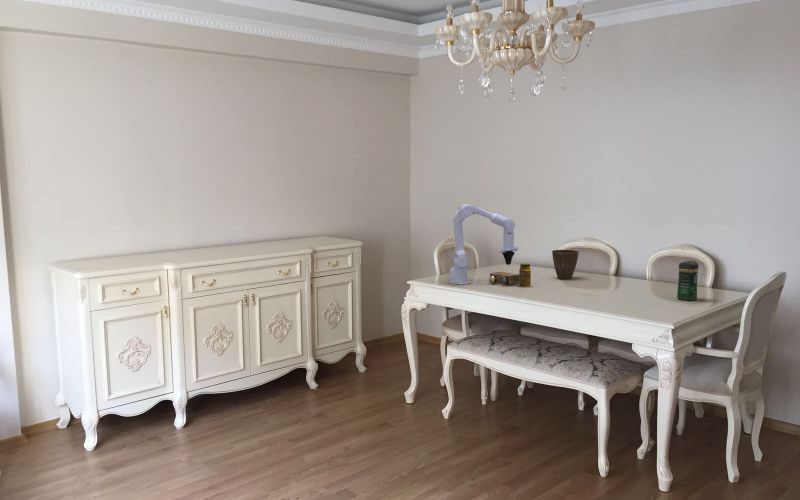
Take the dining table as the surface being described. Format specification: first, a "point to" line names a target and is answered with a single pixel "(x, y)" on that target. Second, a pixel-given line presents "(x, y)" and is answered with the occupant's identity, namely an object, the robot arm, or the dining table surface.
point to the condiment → (524, 276)
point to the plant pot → (565, 263)
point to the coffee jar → (687, 280)
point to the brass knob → (492, 279)
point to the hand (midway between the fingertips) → (508, 264)
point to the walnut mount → (512, 278)
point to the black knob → (504, 280)
